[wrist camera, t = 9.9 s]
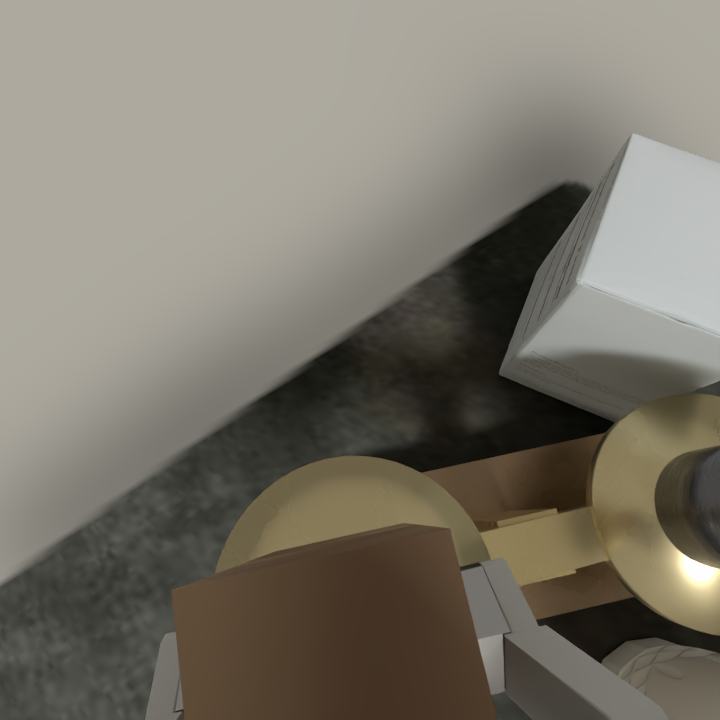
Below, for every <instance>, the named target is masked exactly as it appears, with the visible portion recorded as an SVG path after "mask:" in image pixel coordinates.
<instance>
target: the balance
mask: <svg viewBox="0 0 720 720" xmlns="http://www.w3.org/2000/svg"><path fill="white" fill-rule="evenodd" d="M401 523H409V524H418V525H426V526H434V527H443V528H450V530H451V534H452V538H453V542H454V546H455V550H456V554H457V558H458V562H459V566H460V567H461V566H465V565H469V564H473V563H477V562H478V563H480V562H485V561H489V560H493V559H497V558H504V559H505V560H506V561H507V563H508V565H509V567H510V569H511V571H512V573H513V575H514V577H515V579H516V581H517V583H518V585H519V587H520V589H521V591H522V593H523V595H524V597H525V599H526V601H527V603H528V605H529V607H530V609H531V611H532V613H533V615H534V617H535V620H538V619H542V618H546V617H551V616H555V615H559V614H564V613H568V612H572V611H576V610H581V609H585V608H589V607H593V606H598V605H602V604H606V603H610V602H615V601H619V600H623V599H627V598H632V597H635V598H636V599H637V600H639V601H640V602H641V603H643V604H644V605H645V606H647V607H648V608H649V609H651V610H652V611H654V612H655V613H657V614H659V615H661V616H662V617H664V618H666V619H668V620H670V621H673V622H675V623H677V624H680V625H682V626H685V627H688V628H691V629H694V630H697V631H701V632H705V633H708V634H712V635H719V636H720V397H718V396H714V395H706V394H677V395H670V396H666V397H663V398H659V399H656V400H653V401H651V402H648V403H646V404H644V405H642V406H639V407H637V408H635V409H633V410H631V411H630V412H628V413H627V414H625V415H624V416H622V417H621V418H620V419H619V420H618V421H616V422H615V423H614V424H613V425H612V426H611V427H610V429H609V430H608V431H607V432H606V433H603V434H598V435H593V436H589V437H584V438H580V439H575V440H570V441H566V442H561V443H556V444H552V445H547V446H543V447H538V448H533V449H529V450H524V451H520V452H515V453H510V454H506V455H501V456H496V457H492V458H487V459H483V460H478V461H473V462H469V463H464V464H460V465H455V466H450V467H446V468H441V469H436V470H432V471H427V472H423V473H420V472H418V471H416V470H414V469H412V468H410V467H407V466H405V465H402V464H400V463H397V462H394V461H390V460H386V459H382V458H376V457H368V456H342V457H335V458H328V459H324V460H321V461H317V462H314V463H310V464H308V465H306V466H303V467H301V468H299V469H296V470H294V471H292V472H291V473H289V474H287V475H286V476H284V477H282V478H281V479H279V480H277V481H276V482H275V483H274V484H272V485H271V486H270V487H268V488H267V489H266V490H265V491H263V492H262V493H261V494H260V495H259V496H258V497H257V498H256V499H255V500H254V501H253V502H252V503H251V505H250V506H249V507H248V508H247V510H246V511H245V512H244V513H243V515H242V516H241V517H240V519H239V520H238V522H237V523H236V525H235V527H234V528H233V530H232V532H231V533H230V535H229V537H228V539H227V542H226V544H225V546H224V548H223V550H222V553H221V555H220V559H219V562H218V565H217V568H216V571H215V574H217V573H219V572H222V571H225V570H227V569H230V568H233V567H235V566H238V565H241V564H243V563H246V562H248V561H251V560H254V559H256V558H259V557H262V556H264V555H267V554H270V553H272V552H275V551H279V550H284V549H288V548H293V547H297V546H302V545H306V544H311V543H315V542H320V541H324V540H329V539H333V538H338V537H342V536H347V535H351V534H356V533H361V532H365V531H370V530H374V529H379V528H383V527H388V526H392V525H397V524H401Z"/></svg>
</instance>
